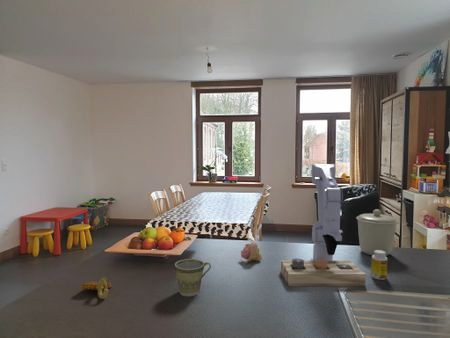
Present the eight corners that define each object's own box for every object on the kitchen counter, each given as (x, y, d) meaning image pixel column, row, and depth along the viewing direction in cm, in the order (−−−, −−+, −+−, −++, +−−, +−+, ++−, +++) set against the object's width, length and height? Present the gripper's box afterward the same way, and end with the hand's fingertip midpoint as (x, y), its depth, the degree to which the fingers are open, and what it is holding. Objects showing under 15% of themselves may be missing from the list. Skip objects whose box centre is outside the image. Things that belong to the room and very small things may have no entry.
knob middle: (313, 267, 128) (314, 258, 127) (324, 267, 128) (325, 258, 127) (317, 271, 123) (317, 262, 123) (328, 271, 123) (329, 262, 123)
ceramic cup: (180, 301, 106) (180, 271, 105) (170, 289, 115) (170, 261, 114) (216, 293, 112) (217, 264, 111) (204, 282, 121) (205, 255, 120)
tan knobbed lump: (260, 258, 149) (269, 248, 143) (251, 274, 142) (260, 264, 136) (243, 246, 151) (251, 235, 144) (234, 261, 144) (241, 251, 137)
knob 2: (336, 272, 128) (336, 264, 128) (347, 272, 128) (347, 264, 128) (340, 277, 124) (341, 268, 123) (352, 277, 124) (352, 268, 124)
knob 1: (290, 267, 127) (291, 258, 127) (302, 267, 127) (302, 258, 127) (293, 271, 123) (293, 262, 123) (305, 271, 123) (305, 262, 123)
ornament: (77, 274, 115) (92, 278, 103) (106, 274, 121) (123, 277, 110) (74, 295, 113) (89, 301, 102) (104, 293, 119) (121, 299, 108)
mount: (280, 271, 132) (281, 260, 132) (349, 271, 133) (349, 260, 133) (288, 286, 118) (289, 274, 118) (365, 286, 119) (365, 274, 119)
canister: (394, 262, 144) (397, 215, 143) (351, 254, 154) (353, 210, 152) (398, 251, 160) (400, 208, 158) (358, 245, 169) (360, 204, 168)
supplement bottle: (381, 281, 124) (382, 254, 123) (367, 276, 128) (369, 250, 127) (389, 278, 127) (390, 252, 126) (376, 273, 131) (377, 248, 131)
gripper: (350, 223, 117) (349, 260, 118) (335, 215, 132) (333, 248, 133) (331, 223, 117) (329, 261, 118) (317, 215, 131) (316, 248, 132)
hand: (330, 254), depth 125 cm, fingers closed
